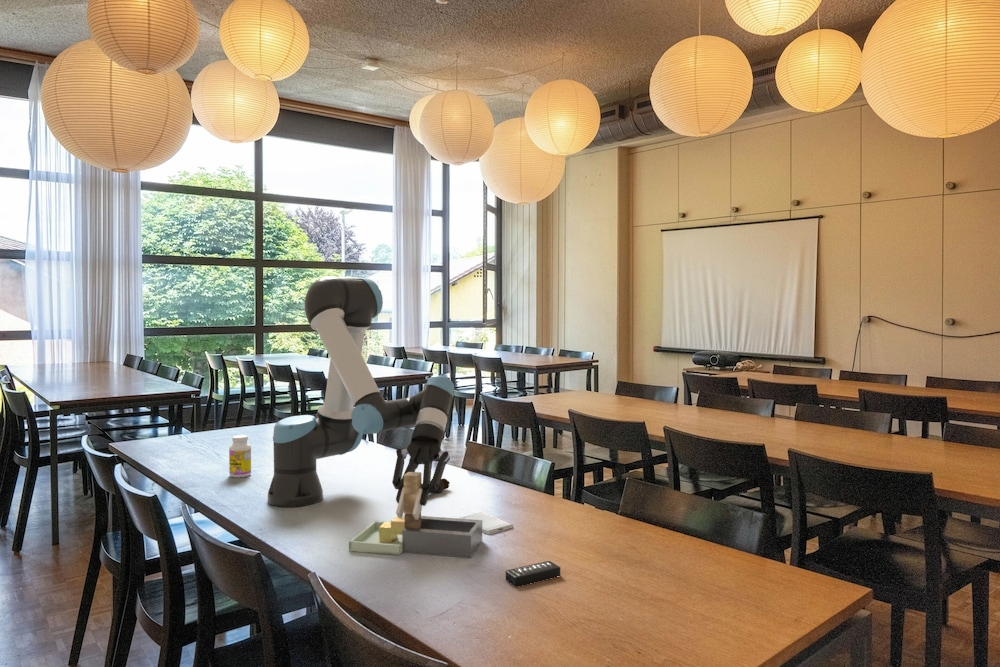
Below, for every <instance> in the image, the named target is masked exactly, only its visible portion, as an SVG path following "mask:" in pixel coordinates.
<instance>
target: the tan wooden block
mask: <svg viewBox="0 0 1000 667" xmlns="http://www.w3.org/2000/svg"><path fill="white" fill-rule="evenodd" d="M390 522H391V534H398V535H402V530H403V529H404V528H405V515H404V516H402V519H399V518H398V516H397V515H396V516H395V517H394V518H392V519H391V520H390Z"/></svg>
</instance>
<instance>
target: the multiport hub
mask: <svg viewBox="0 0 1000 667" xmlns="http://www.w3.org/2000/svg"><path fill="white" fill-rule="evenodd" d="M557 576H560V577H561V567H560V566H559V565H558V564H555V563H554V562H552V561H551V560H546V561H542V562H538V563H533V564H529V565H524V566H519V567H515V568H511V569H506V570H505V581H506V582H507V581H508V582H507V583H508V584H510V583H511V584H510V585H511V586H513V585H514V586H516V587H515V588H519V587H518V586H520V587H523V586H522V585H524V586H528V585H527V584H529V585H531V584H530V583H533V584H535V583H534V582H537V583H539V582H538V581H541V582H543V581H542V580H545V581H547V580H546V579H549V580H551V579H550V578H554V577H557ZM554 579H555V578H554ZM514 586H513V587H514Z"/></svg>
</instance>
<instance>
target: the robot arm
mask: <svg viewBox="0 0 1000 667" xmlns="http://www.w3.org/2000/svg"><path fill="white" fill-rule="evenodd" d="M304 297H305V298H304V312H305V317H306V319H307V322H308V324H309V326H310V328H311V329H312V330H313V331H317V334H318V335H319V337H320V339H321V341H322V343H323V345H324V347H325V349H326V351H327V353H328V356H329V357H330V360H329V368H328V375H327V380H326V389H325V396H324V403H323V404H322V405H321V406H319V408H318V409H317V415H316V416H314V415H311V414H300V415H293V416H289V417H285V418H282V419H280V420H278V421H277V422H276V423H275V425H274V426H273V434H272V441H273V476H272V480H271V483H270V484H269V488H268V492H267V503H268V504H269V505H272V506H275V507H282V508H285V507H286V508H289V507H290V508H292V507H302V506H303V507H304V506H309V505H313V504H316V503H318V502H320V501H321V500H323V498H324V495H323V494H324V491H323V487H322V484H321V481H320V478H319V474H318V472H317V460H318V459H323V458H329V457H334V456H338V455H339V456H341V455H346V454H347V453H350V452H353V451H355V450H357V448H358V447H359V446H360V444H361V442H362V439H363V435H370V434H373V435H374V434H378V433H381V432H386V431H389V430H391V431H392V430H398V429H399V430H402V431H406V430H409V429H413V432H412V435H411V438H410V443H409V444H408V445H407V448H404V449H401V448H397V449H396V451H395V453H396V457H397V458H396V462H395V466H394V472H393V476H392V481H391V483H392V485H393V487H394V489H395V490H397V494H396V497H395V501H396V503H397V508H396V511H395V514H396V516H398V518H399V519H402V516H403V515H404V475H405V474H406V473H407V472H416V470H417V469H418V467H419V465H423V475H422V477H423V478H422V484H423V485H422V487H423V490H422V489H421V488H419V490H418V494H417V498H416V502H415V506H414V510H413V516H414V518H415V520H418V519H419V515H420V511H421V507H422V506H426V504H427V501H428V498H429V495H430V494H431V493H430V492H432V491H433V492H436V491H437V490H438V487H439V484H440V481H441V479H443V478H442V477H443V474H444V471H445V468H446V465H447V464H448V462H449V461H450V459H451V457H450V454H449V451H447V450H445V451H444V450H442V449H441V447H442V444H443V440H444V439H443V438H444V433H445V431H446V427H447V423H448V418H449V414H450V410H451V407H452V403H453V399H454V392H455V385H454V383H453V381H452V380H451V379H449V378H448V377H446V376H444V375H433V376H430V377H429V378H428V379H427V382H426V384H425V388H424V389H423V390H421V391H419V392H418V393H416V394H414V395H411V396H409V397H406V398H397V399H393V400H385V398H384V396H383V394H382V393H381V390H380V388H379V387H378V385H377V383H376V381H375V379H374V377H373V375H372V373H371V371H370V369H369V367H368V364H366V361H365V359H364V357H363V355H362V351H363V345H364V338H365V332H366V331H367V330H368V329H370V328H371V327H372V321H373V319H374V318H376V317H378V316H379V314H380V313H381V312H382V309H383V303H384V302H383V301H384V300H383V294H382V291H381V289H380V288H379V286H378V284H377V283H376V282H375V281H374V280H372V279H370V278H366V277H360V276H332V275H329V276H327V275H326V276H323V277H320V278H318V279H316V280H315V281H314V282H313V283H312V284H311V285H310V286H309V287H308V290H307V291H306V294H305V296H304ZM407 455H409V456H410V457H409V460H408V464H407V465H406V466H407V467H406V469H405V470H404V466H405V460H406V459H407ZM436 459H438V460H437V464H436V466H435V470H434V472H433V476H432V469H433V462H434V461H435V460H436ZM403 472H404V473H403ZM431 477H432V478H431ZM431 480H432V482H431V484H430V481H431ZM429 493H430V494H429ZM422 508H423V507H422ZM421 512H422V511H421Z"/></svg>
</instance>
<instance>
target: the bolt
mask: <svg viewBox="0 0 1000 667" xmlns="http://www.w3.org/2000/svg"><path fill="white" fill-rule="evenodd" d="M431 482H432V479H431V480H430V484H431ZM422 485H423V483H421V489H422V490H423V487H422ZM449 487H450V481H449V480H448V479H447V478H441V481H440V484H439V487H438V490H437V491H436V492H433V491H432V492H430V493H429V494H428V495H430V494H435V493H437V495H438V494H442V493H443V491H444V490H447V489H449Z"/></svg>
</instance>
